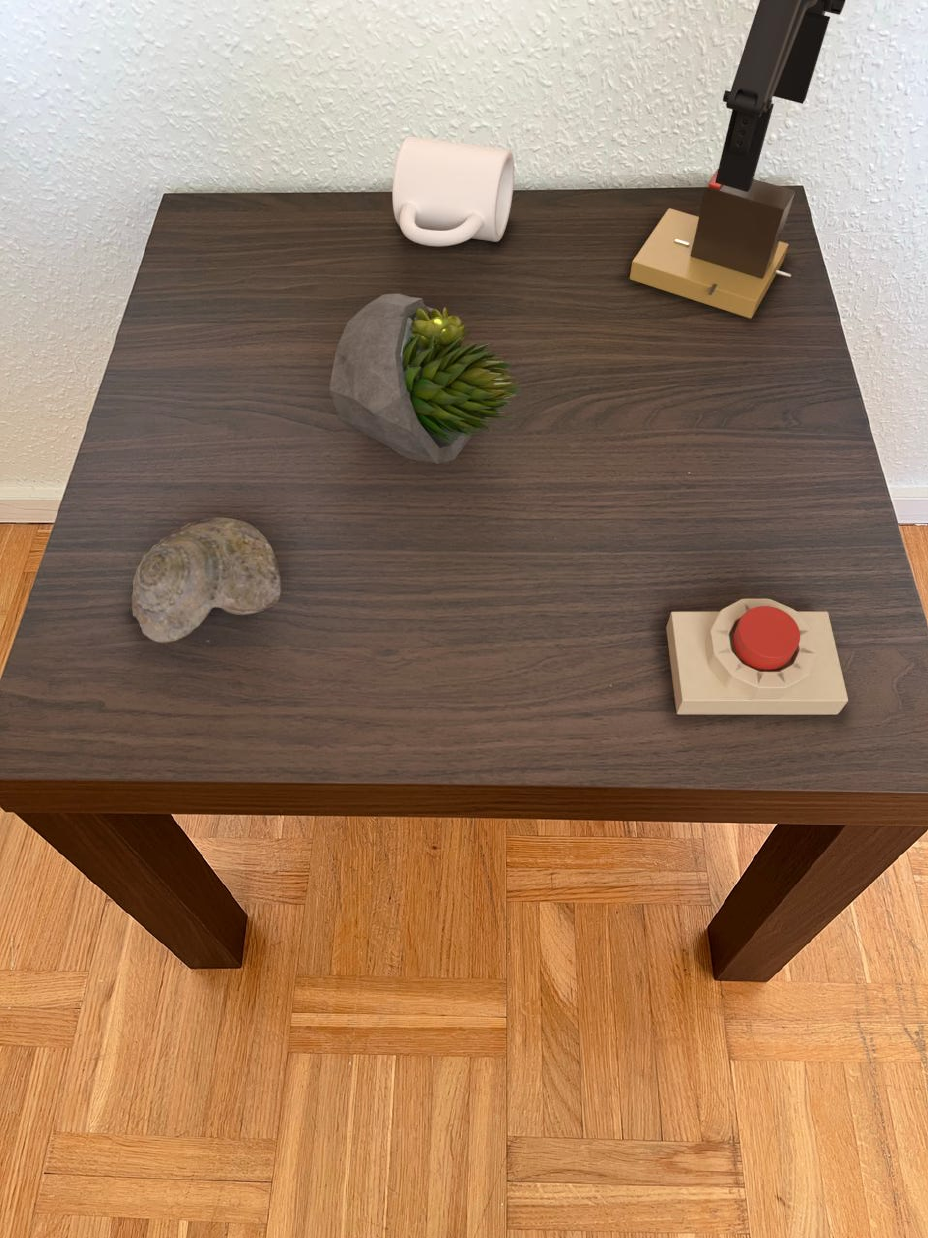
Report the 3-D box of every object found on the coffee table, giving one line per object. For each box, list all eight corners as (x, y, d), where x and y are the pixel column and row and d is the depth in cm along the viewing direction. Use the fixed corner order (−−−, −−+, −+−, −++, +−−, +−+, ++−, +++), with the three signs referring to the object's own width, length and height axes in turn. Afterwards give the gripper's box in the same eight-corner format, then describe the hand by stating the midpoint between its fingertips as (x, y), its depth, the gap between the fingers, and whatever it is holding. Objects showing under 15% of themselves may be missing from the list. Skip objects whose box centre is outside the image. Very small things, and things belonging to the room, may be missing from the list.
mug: (419, 195, 93) (414, 118, 87) (513, 209, 92) (516, 132, 85) (382, 269, 87) (374, 193, 81) (483, 286, 86) (483, 210, 79)
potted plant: (396, 311, 79) (557, 313, 73) (383, 460, 81) (538, 475, 75) (314, 277, 69) (493, 276, 62) (300, 449, 71) (473, 465, 64)
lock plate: (803, 260, 87) (809, 240, 85) (764, 332, 82) (770, 312, 80) (669, 219, 91) (673, 199, 89) (624, 286, 86) (627, 266, 84)
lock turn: (773, 259, 84) (796, 187, 78) (762, 279, 83) (785, 206, 76) (701, 237, 86) (718, 165, 80) (689, 256, 84) (706, 183, 78)
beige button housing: (818, 627, 66) (836, 597, 63) (837, 714, 62) (858, 688, 59) (665, 627, 66) (675, 597, 63) (676, 714, 63) (687, 688, 59)
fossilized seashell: (180, 506, 71) (173, 473, 64) (304, 567, 72) (310, 540, 65) (110, 626, 68) (96, 604, 61) (241, 687, 69) (241, 672, 62)
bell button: (787, 618, 62) (794, 605, 61) (797, 670, 60) (805, 657, 59) (728, 619, 62) (734, 605, 61) (736, 670, 60) (743, 658, 59)
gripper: (850, -267, 63) (768, 54, 81) (723, -124, 52) (660, 211, 70) (961, -250, 61) (851, 75, 79) (853, -98, 50) (754, 240, 68)
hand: (761, 139), depth 75 cm, fingers open, 13 cm apart
